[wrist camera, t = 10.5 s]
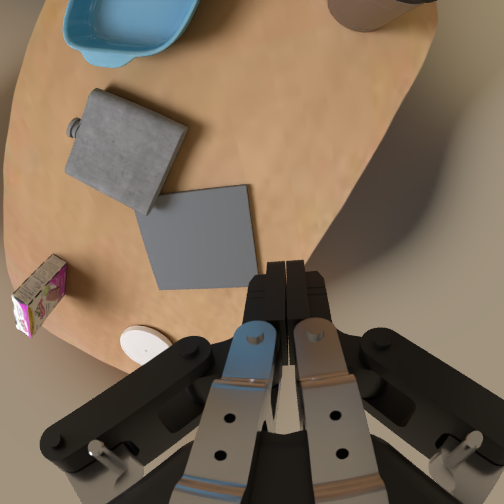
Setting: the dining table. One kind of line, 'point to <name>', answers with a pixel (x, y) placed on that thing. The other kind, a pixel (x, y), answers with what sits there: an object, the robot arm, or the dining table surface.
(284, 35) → the dining table surface
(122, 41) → the casserole dish
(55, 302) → the candy bar box
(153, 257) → the mat
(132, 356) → the plastic lid
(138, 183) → the hip flask
